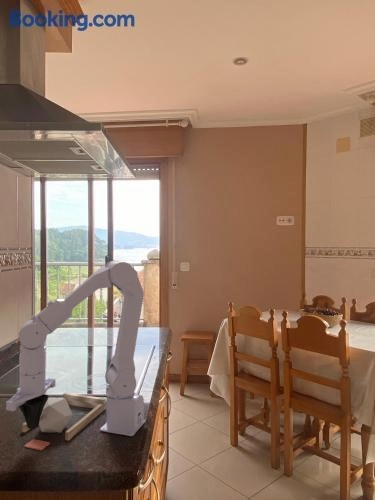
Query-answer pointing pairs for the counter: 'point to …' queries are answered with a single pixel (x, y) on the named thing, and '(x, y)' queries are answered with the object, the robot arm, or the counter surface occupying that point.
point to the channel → (82, 401)
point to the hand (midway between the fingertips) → (32, 427)
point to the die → (55, 415)
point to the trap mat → (37, 444)
